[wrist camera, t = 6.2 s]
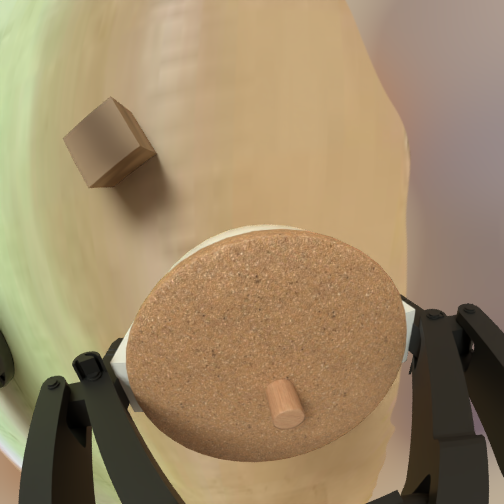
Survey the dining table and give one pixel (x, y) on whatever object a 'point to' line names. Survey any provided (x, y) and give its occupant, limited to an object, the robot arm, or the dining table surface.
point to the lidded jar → (266, 343)
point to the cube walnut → (108, 145)
